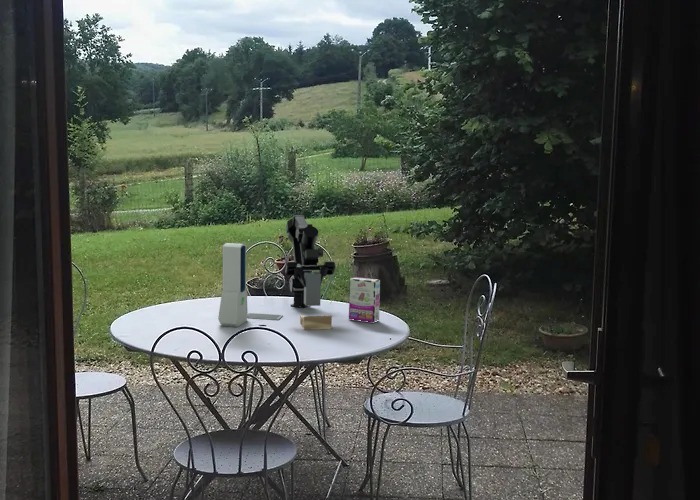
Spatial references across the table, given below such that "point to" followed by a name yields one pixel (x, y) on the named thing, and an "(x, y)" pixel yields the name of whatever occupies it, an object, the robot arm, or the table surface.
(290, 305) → the robot arm
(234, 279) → the electronic device
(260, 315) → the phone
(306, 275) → the block
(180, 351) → the table surface
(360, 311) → the candy bar box
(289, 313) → the table surface
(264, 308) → the table surface
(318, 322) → the tan wooden block
